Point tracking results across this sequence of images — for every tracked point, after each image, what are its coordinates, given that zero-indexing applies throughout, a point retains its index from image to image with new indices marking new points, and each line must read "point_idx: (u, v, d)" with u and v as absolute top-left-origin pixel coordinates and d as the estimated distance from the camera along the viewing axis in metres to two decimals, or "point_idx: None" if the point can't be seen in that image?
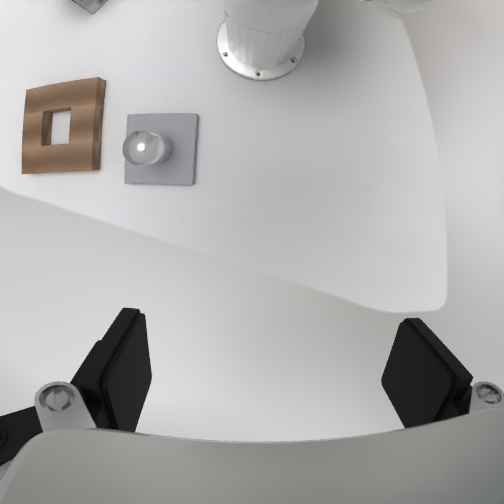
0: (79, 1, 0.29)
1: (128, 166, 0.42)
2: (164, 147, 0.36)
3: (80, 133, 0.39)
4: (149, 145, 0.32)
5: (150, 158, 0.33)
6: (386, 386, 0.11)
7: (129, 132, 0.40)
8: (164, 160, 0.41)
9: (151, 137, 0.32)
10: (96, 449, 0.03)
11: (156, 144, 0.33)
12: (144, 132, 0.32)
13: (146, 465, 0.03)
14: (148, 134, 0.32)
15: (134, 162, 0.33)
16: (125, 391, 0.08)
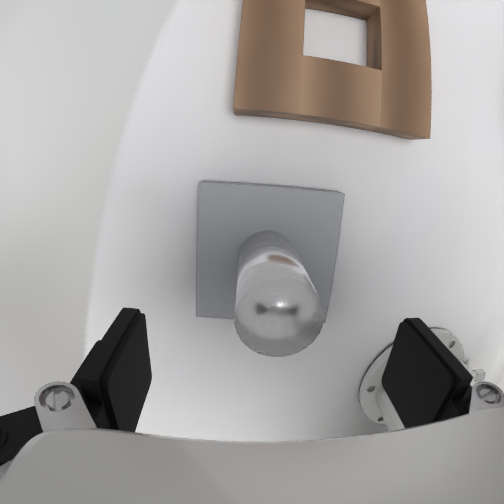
0: None
1: (234, 192, 0.21)
2: None
3: (322, 85, 0.18)
4: (282, 343, 0.14)
5: (250, 345, 0.14)
6: (386, 386, 0.11)
7: (307, 196, 0.21)
8: None
9: (301, 347, 0.14)
10: (96, 449, 0.03)
11: None
12: (316, 331, 0.14)
13: (146, 465, 0.03)
14: (309, 340, 0.14)
15: (244, 308, 0.14)
16: (125, 391, 0.08)
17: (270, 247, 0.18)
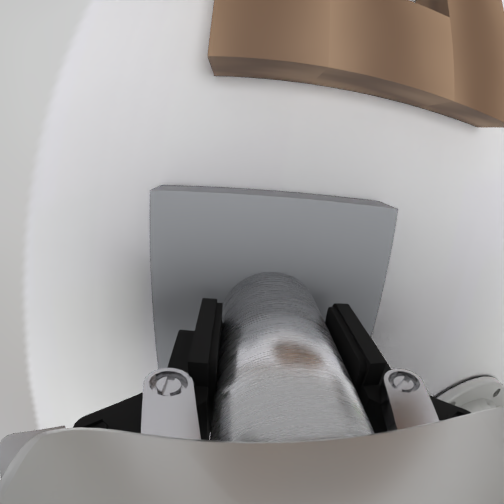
0: None
1: (212, 207, 0.12)
2: None
3: (366, 25, 0.09)
4: None
5: None
6: None
7: (339, 213, 0.12)
8: None
9: None
10: (96, 448, 0.03)
11: None
12: None
13: (146, 465, 0.03)
14: None
15: None
16: None
17: (278, 325, 0.09)
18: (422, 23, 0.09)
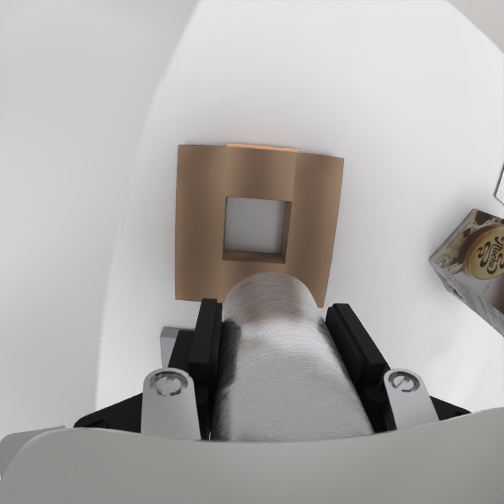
0: (456, 279, 0.27)
1: None
2: None
3: (236, 282, 0.29)
4: None
5: None
6: None
7: None
8: None
9: None
10: (96, 449, 0.03)
11: None
12: None
13: (146, 465, 0.03)
14: None
15: None
16: None
17: (278, 325, 0.09)
18: None
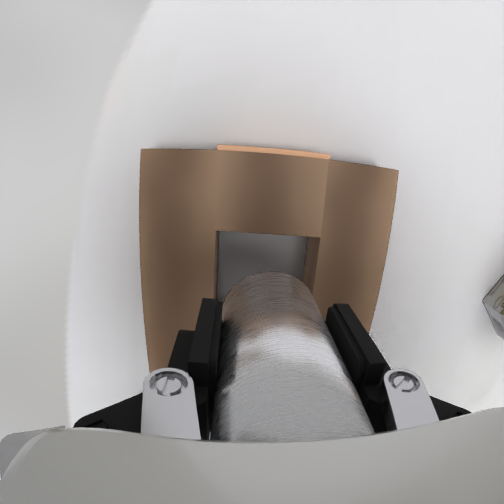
0: None
1: None
2: None
3: None
4: None
5: None
6: None
7: None
8: None
9: None
10: (95, 448, 0.03)
11: None
12: None
13: (146, 465, 0.03)
14: None
15: None
16: None
17: (278, 325, 0.09)
18: None
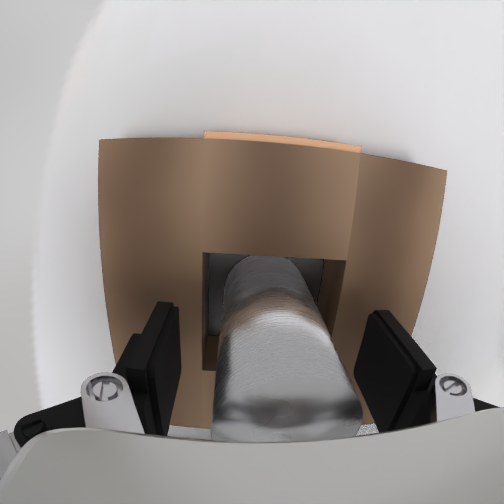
0: None
1: None
2: None
3: None
4: None
5: None
6: (357, 377, 0.11)
7: None
8: None
9: None
10: (96, 449, 0.03)
11: None
12: None
13: (146, 465, 0.03)
14: None
15: (226, 420, 0.07)
16: (165, 380, 0.08)
17: (269, 289, 0.11)
18: None
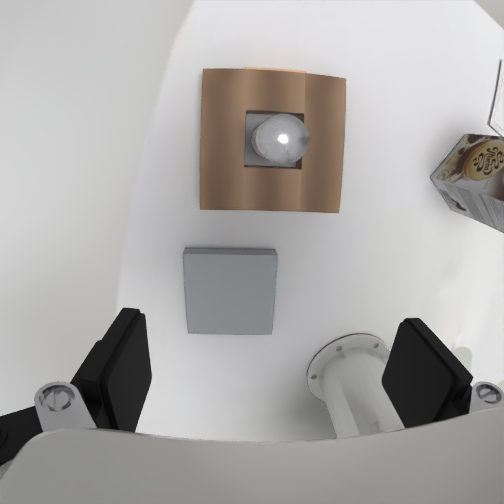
0: (457, 186, 0.28)
1: (205, 259, 0.34)
2: None
3: (258, 188, 0.30)
4: (286, 154, 0.24)
5: (267, 156, 0.24)
6: (386, 386, 0.11)
7: (252, 259, 0.34)
8: (255, 150, 0.31)
9: (298, 157, 0.24)
10: (95, 448, 0.03)
11: None
12: (305, 147, 0.24)
13: (146, 465, 0.03)
14: (302, 153, 0.24)
15: (263, 131, 0.23)
16: (125, 391, 0.08)
17: None
18: (285, 179, 0.30)
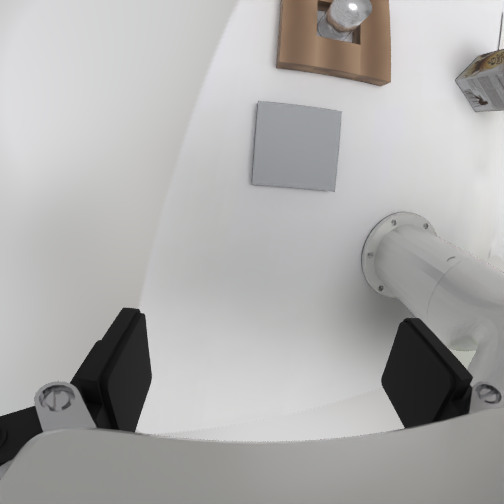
0: (478, 76, 0.29)
1: (279, 107, 0.34)
2: (344, 30, 0.29)
3: (327, 52, 0.31)
4: (357, 12, 0.24)
5: (344, 10, 0.24)
6: (386, 386, 0.11)
7: (320, 111, 0.34)
8: (322, 32, 0.32)
9: (365, 16, 0.25)
10: (95, 449, 0.03)
11: (357, 19, 0.25)
12: (370, 11, 0.24)
13: (146, 465, 0.03)
14: (368, 14, 0.24)
15: None
16: (125, 391, 0.08)
17: None
18: (348, 49, 0.31)
